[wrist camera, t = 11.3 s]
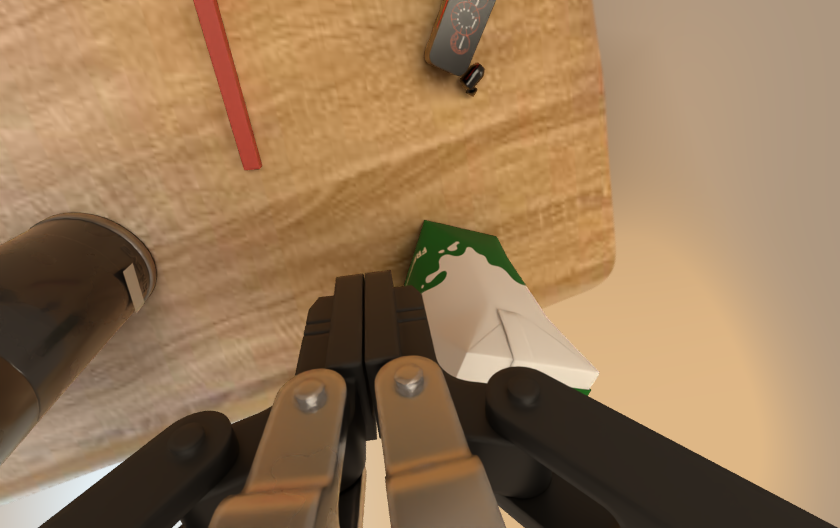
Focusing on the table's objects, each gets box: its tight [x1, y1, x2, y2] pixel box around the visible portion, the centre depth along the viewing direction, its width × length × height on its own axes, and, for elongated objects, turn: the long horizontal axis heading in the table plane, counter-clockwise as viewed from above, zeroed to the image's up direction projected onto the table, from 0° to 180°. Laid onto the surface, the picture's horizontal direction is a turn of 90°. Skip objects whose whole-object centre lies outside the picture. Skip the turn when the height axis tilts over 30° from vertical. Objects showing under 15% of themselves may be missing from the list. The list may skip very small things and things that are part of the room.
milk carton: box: [404, 220, 599, 396], centre depth 29 cm, size 9×9×20 cm
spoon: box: [193, 0, 262, 170], centre depth 27 cm, size 4×17×1 cm, turn 4°
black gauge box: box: [424, 0, 496, 97], centre depth 27 cm, size 5×7×3 cm, turn 157°
